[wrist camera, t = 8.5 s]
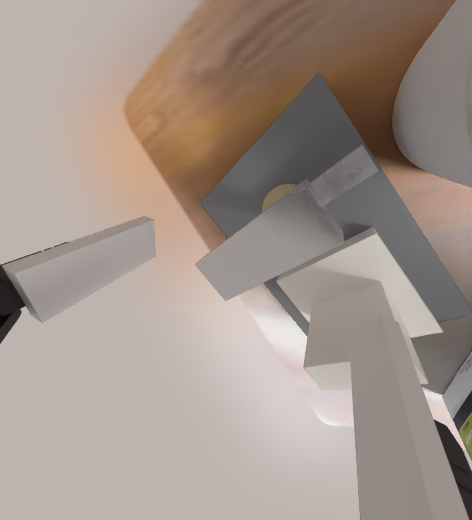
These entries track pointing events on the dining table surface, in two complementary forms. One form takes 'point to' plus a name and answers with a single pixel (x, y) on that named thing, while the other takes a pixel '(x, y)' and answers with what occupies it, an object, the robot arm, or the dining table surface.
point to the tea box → (461, 402)
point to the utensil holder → (439, 100)
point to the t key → (285, 230)
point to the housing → (342, 208)
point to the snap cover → (353, 305)
